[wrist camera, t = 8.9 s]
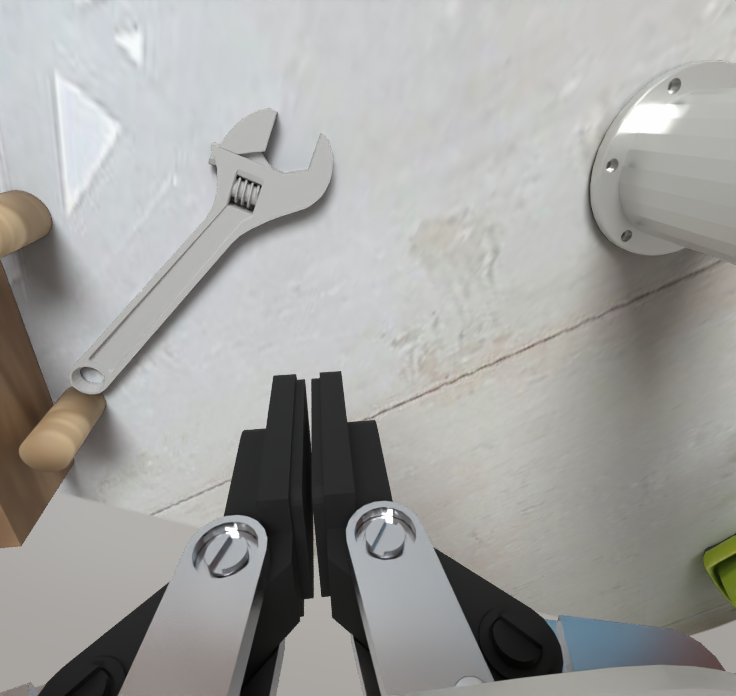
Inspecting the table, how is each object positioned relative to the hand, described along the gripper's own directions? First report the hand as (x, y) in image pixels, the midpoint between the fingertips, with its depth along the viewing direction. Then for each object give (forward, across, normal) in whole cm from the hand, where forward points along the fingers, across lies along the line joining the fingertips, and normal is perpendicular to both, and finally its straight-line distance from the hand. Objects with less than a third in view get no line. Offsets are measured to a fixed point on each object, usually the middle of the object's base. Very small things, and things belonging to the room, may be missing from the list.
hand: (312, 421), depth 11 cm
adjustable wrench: (+22, +9, +2) cm, 24 cm away
